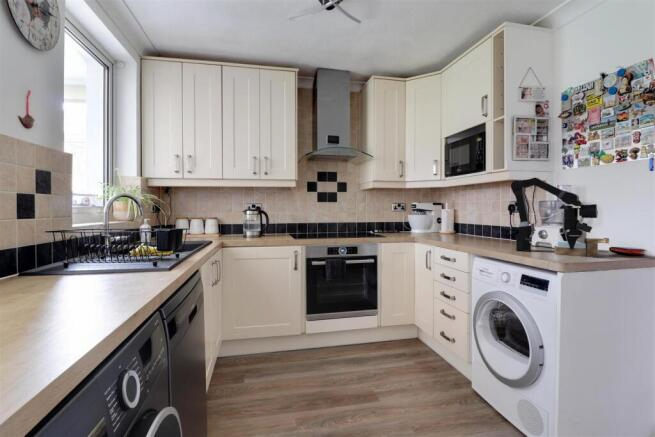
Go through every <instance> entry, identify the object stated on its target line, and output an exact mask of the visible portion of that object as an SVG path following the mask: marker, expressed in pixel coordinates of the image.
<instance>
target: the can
mask: <svg viewBox="0 0 655 437" xmlns="http://www.w3.org/2000/svg"><path fill="white" fill-rule="evenodd" d="M581 231H582V236H581V237H580V238H578V239H577V241H576V242H583V243H584V238H587V232H585V231H583V230H581Z"/></svg>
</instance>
